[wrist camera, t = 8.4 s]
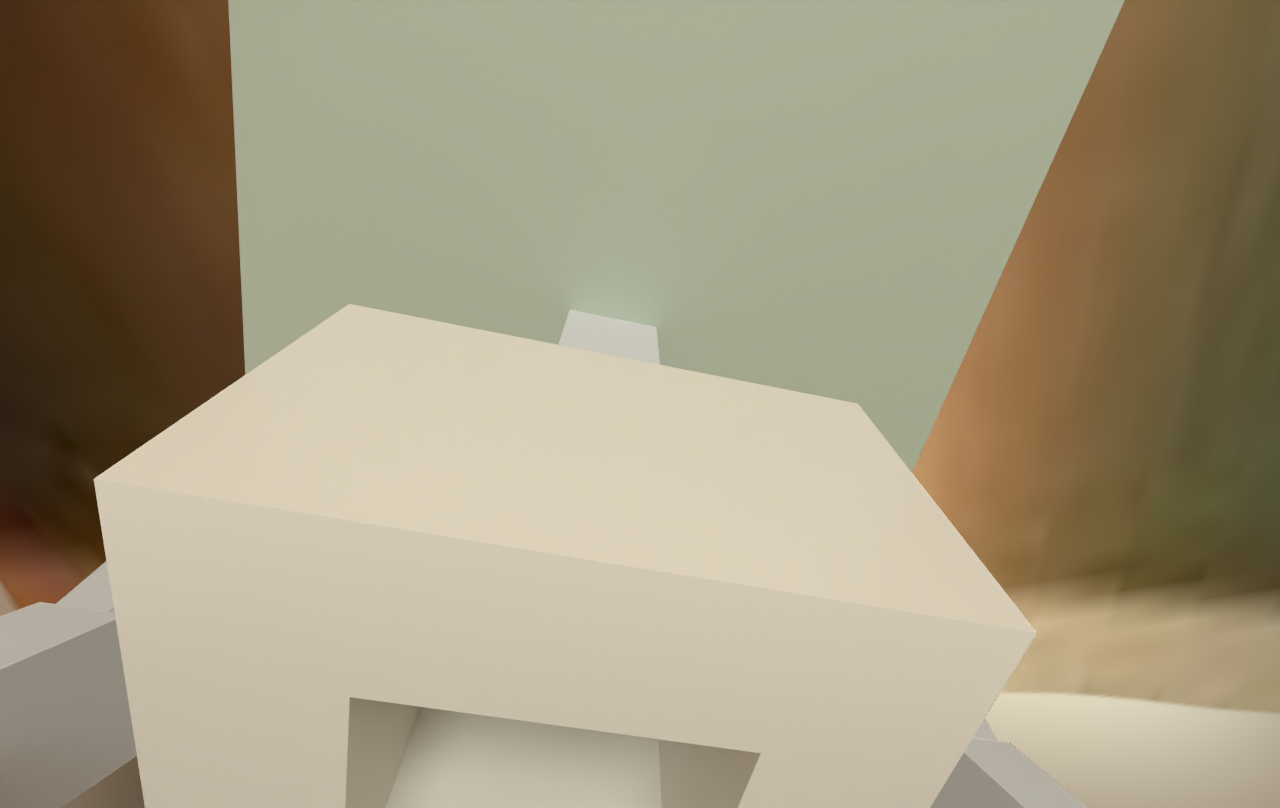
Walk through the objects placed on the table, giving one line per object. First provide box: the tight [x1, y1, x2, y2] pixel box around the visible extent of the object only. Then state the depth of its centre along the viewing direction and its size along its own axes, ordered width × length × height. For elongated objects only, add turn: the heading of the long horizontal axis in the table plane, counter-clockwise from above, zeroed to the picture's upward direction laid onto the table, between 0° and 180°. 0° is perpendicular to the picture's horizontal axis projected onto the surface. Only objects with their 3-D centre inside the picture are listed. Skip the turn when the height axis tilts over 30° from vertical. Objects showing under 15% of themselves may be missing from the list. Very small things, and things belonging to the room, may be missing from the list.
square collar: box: [94, 304, 1037, 808], centre depth 7 cm, size 6×6×4 cm
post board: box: [228, 0, 1125, 472], centre depth 11 cm, size 18×20×10 cm
